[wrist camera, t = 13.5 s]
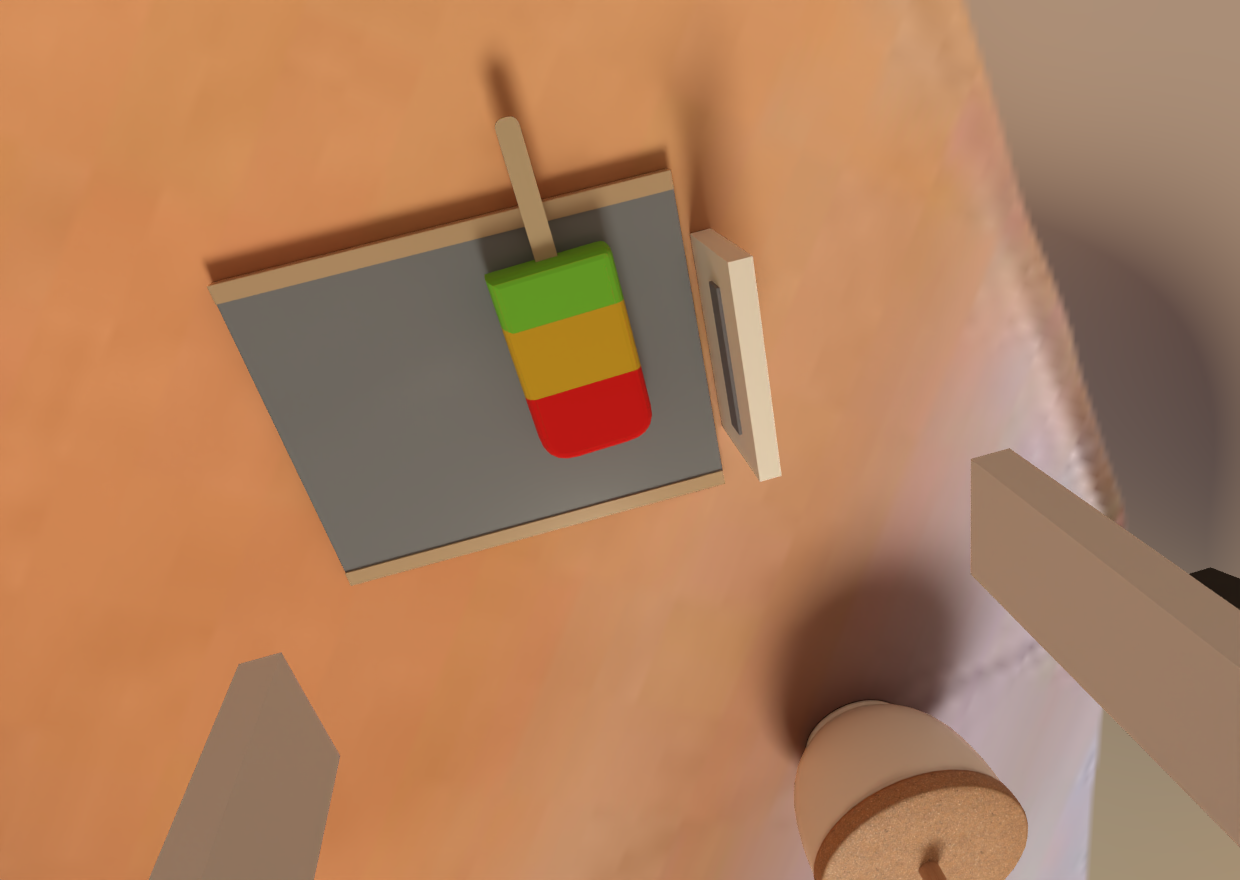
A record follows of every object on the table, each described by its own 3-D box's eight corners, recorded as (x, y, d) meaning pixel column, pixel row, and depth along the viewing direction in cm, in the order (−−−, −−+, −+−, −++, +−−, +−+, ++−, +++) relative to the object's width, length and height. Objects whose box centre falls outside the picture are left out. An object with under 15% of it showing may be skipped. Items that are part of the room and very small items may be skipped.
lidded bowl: (927, 789, 54) (1025, 946, 45) (760, 817, 53) (824, 986, 43) (958, 655, 49) (1077, 801, 39) (773, 681, 47) (849, 840, 37)
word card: (719, 426, 39) (756, 482, 33) (686, 234, 34) (724, 263, 29) (740, 420, 39) (781, 475, 33) (710, 228, 34) (752, 256, 29)
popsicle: (545, 451, 37) (548, 469, 35) (437, 134, 30) (435, 138, 28) (652, 419, 37) (660, 435, 35) (569, 96, 30) (574, 98, 28)
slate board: (353, 577, 39) (351, 586, 38) (212, 282, 32) (206, 286, 31) (721, 477, 40) (725, 483, 39) (667, 168, 33) (670, 170, 32)
